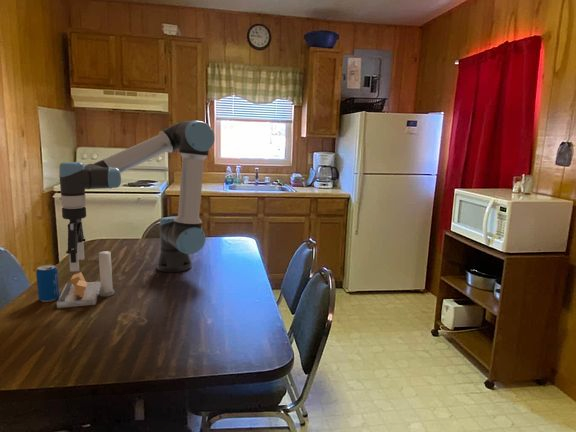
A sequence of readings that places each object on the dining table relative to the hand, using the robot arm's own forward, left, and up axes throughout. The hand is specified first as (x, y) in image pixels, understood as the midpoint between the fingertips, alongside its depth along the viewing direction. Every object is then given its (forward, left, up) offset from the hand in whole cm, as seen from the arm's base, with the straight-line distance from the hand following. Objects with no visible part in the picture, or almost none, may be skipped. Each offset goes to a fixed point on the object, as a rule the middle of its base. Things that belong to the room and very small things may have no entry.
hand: (77, 265), depth 149 cm
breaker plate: (0, 0, -12) cm, 12 cm away
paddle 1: (0, -5, -10) cm, 11 cm away
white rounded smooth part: (-9, 0, -12) cm, 15 cm away
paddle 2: (0, +4, -10) cm, 11 cm away
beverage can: (+10, 0, -12) cm, 16 cm away
